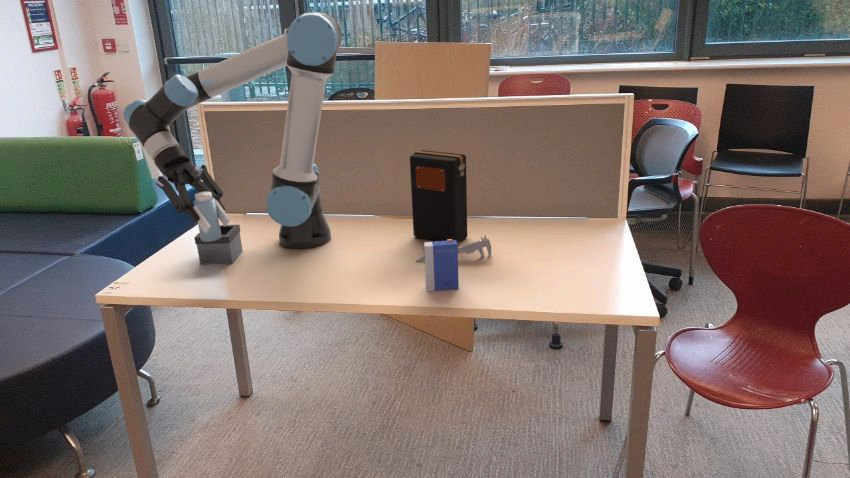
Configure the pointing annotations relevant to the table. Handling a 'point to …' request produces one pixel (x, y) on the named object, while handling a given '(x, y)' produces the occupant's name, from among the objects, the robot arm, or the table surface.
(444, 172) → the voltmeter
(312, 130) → the robot arm
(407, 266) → the table surface
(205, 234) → the white-capped blue bottle
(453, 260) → the walkman
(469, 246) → the caliper
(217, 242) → the square planter pot
